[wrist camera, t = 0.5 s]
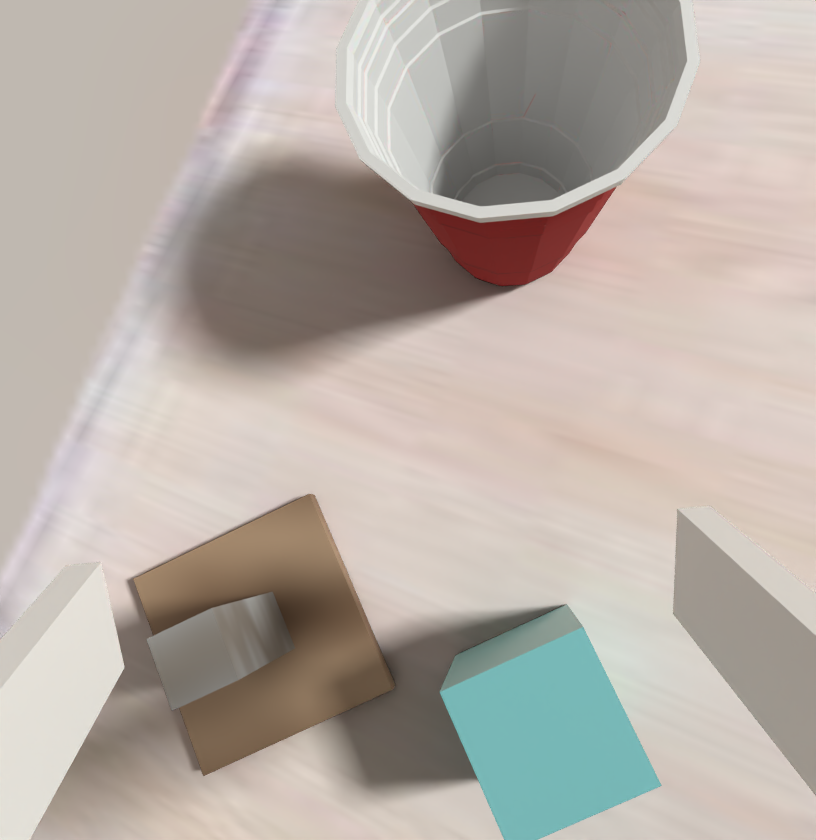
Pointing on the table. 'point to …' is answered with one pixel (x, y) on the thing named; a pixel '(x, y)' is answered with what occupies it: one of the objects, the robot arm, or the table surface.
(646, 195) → the table surface
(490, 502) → the table surface
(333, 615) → the peg stand
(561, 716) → the teal rectangular block
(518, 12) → the plastic cup
